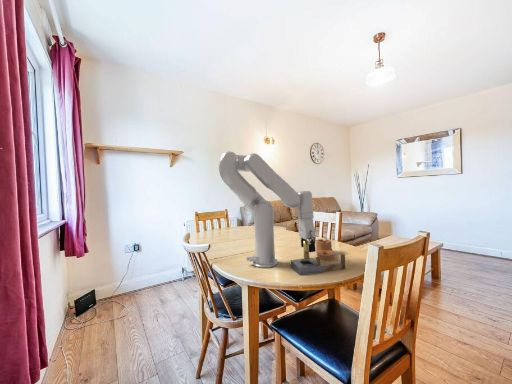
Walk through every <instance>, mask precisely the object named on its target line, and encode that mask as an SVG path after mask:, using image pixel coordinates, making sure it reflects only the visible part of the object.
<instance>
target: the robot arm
mask: <svg viewBox="0 0 512 384" xmlns="http://www.w3.org/2000/svg"><path fill="white" fill-rule="evenodd" d="M218 172H219V176H220V178H221V180H222V181H223V183H224V184H225V185H226V186H227V187H228V188H229V189H230V191H232V193H234V195H236V196H237V197H238V200H239V201H240V202H242V203H243V204H244V205H245V206H246V207H247V208H248V209H249V210H250V211H251V212H252V213H253V219H254V221H253V222H254V223H253V225H254V228H253V229H254V230H253V232H254V248H255V250H254V251H255V253H254V255H252V256H246V257H245V258H246V259H245V260H246V262H250V263H252V265H253V266H254V267H256V268H261V269H262V268H273V267H276V266H278V264H279V260H278V259H277V258H276V255H275V254H276V253H275V252H276V251H275V232H274V231H275V230H274V226H275V225H274V219H275V218H274V217H275V211H274V210H275V209H274V206H273V204H272V203H271V202H270V201H269V200H266V199H265V198H264V197H263V196H262V195H261V194H260V193H259V192H258V191H257V189H256V188H255V186H253V185H252V184H251V183H249V181H247V180H246V178H244V176H243V175H242V174H241V172H250V173H252V174H253V176H254V177H256V179H257V180H258V181H259V182H260V183H261V184H262V185H263V186H264V187H266V188H267V189H269V190H271V191H272V192H273V193H275V195H277V196H278V198H280V203H281V204H282V205H283V206H285V207H287V208H290V209H295V208H297V218H298V236H299V237H300V245H301V246H300V247H301V248H303V241H304V240H308V241H309V253H316V240H317V239H316V237H317V236H316V233H315V224H314V206H313V194H312V192H311V191H310V190H302V191H301V190H300V191H298V192H297V191H296V190H295V189H294V188H293V187H292V186H291V185H290V184H289V183H288V182H287V181H286V180H284V179H283V178H282V177H281V176H280V175H279V174H278V173H277V172H276V171H275V170H274V169H273V168H272V167H271V166H270V165H269V164H268V163H267V162H266V161H265V159H263V158H262V157H261V156H260V155H259V154H258V153H255V152H254V153H253V152H252V153H250V154H248V155H242V154H241V155H240V154H236V153H235V152H233V151H225V152H224V153H223V154H221V156H220V159H219V163H218Z"/></svg>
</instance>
